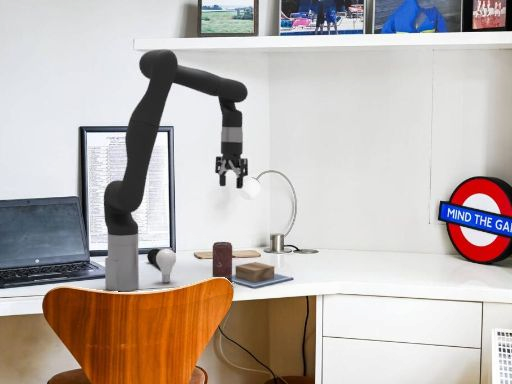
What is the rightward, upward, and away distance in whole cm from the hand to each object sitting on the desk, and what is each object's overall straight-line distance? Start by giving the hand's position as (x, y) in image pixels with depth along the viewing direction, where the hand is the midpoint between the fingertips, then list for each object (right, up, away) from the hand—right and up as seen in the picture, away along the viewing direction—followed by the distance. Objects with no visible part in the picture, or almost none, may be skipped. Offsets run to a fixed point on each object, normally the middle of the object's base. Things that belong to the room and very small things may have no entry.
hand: (230, 187), depth 232 cm
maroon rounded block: (-2, -32, -23) cm, 39 cm away
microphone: (-26, -29, +4) cm, 39 cm away
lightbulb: (-20, -31, -18) cm, 41 cm away
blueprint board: (+9, -30, -12) cm, 34 cm away
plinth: (+8, -30, -13) cm, 34 cm away
